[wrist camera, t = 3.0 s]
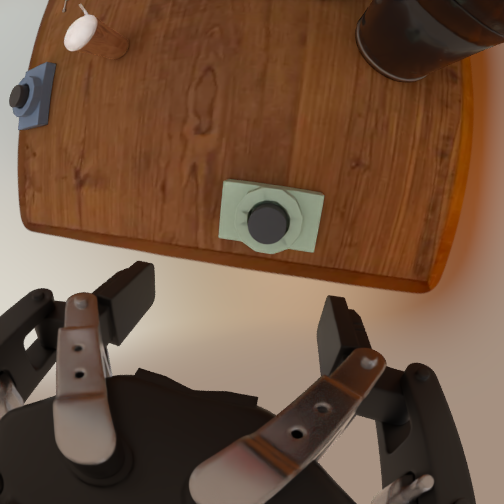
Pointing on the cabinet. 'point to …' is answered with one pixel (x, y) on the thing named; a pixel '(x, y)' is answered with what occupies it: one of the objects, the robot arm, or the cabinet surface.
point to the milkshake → (95, 38)
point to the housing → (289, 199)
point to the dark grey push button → (19, 96)
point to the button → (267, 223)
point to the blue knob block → (36, 97)
